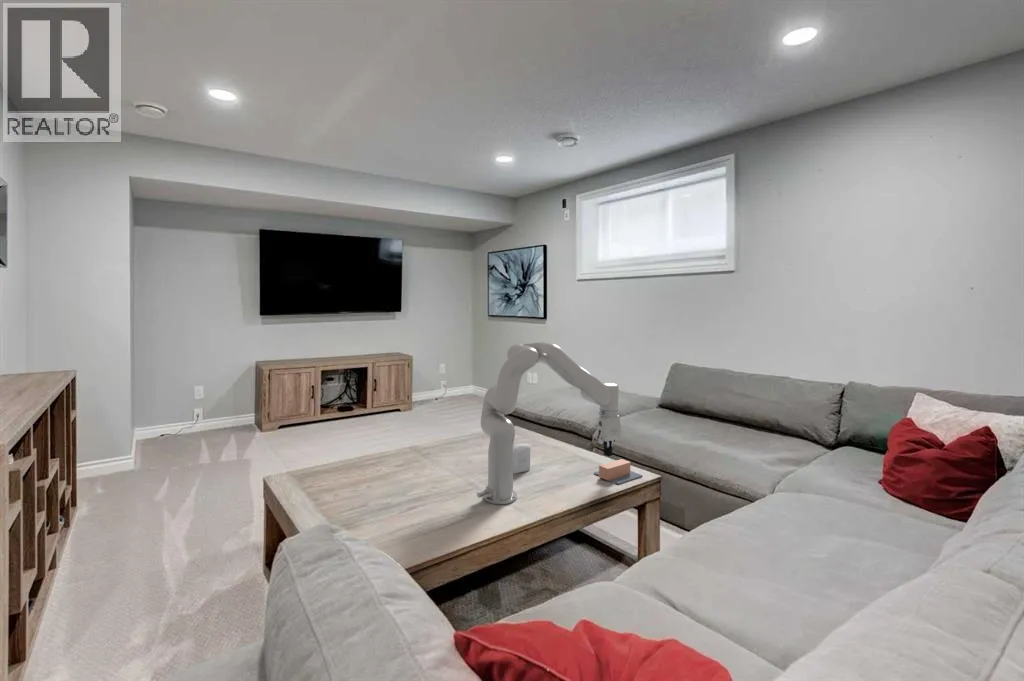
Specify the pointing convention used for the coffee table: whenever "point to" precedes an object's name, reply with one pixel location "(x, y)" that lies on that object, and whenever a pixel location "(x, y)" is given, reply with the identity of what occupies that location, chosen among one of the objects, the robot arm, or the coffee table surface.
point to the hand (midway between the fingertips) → (607, 455)
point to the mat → (624, 477)
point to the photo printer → (521, 458)
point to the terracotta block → (614, 469)
